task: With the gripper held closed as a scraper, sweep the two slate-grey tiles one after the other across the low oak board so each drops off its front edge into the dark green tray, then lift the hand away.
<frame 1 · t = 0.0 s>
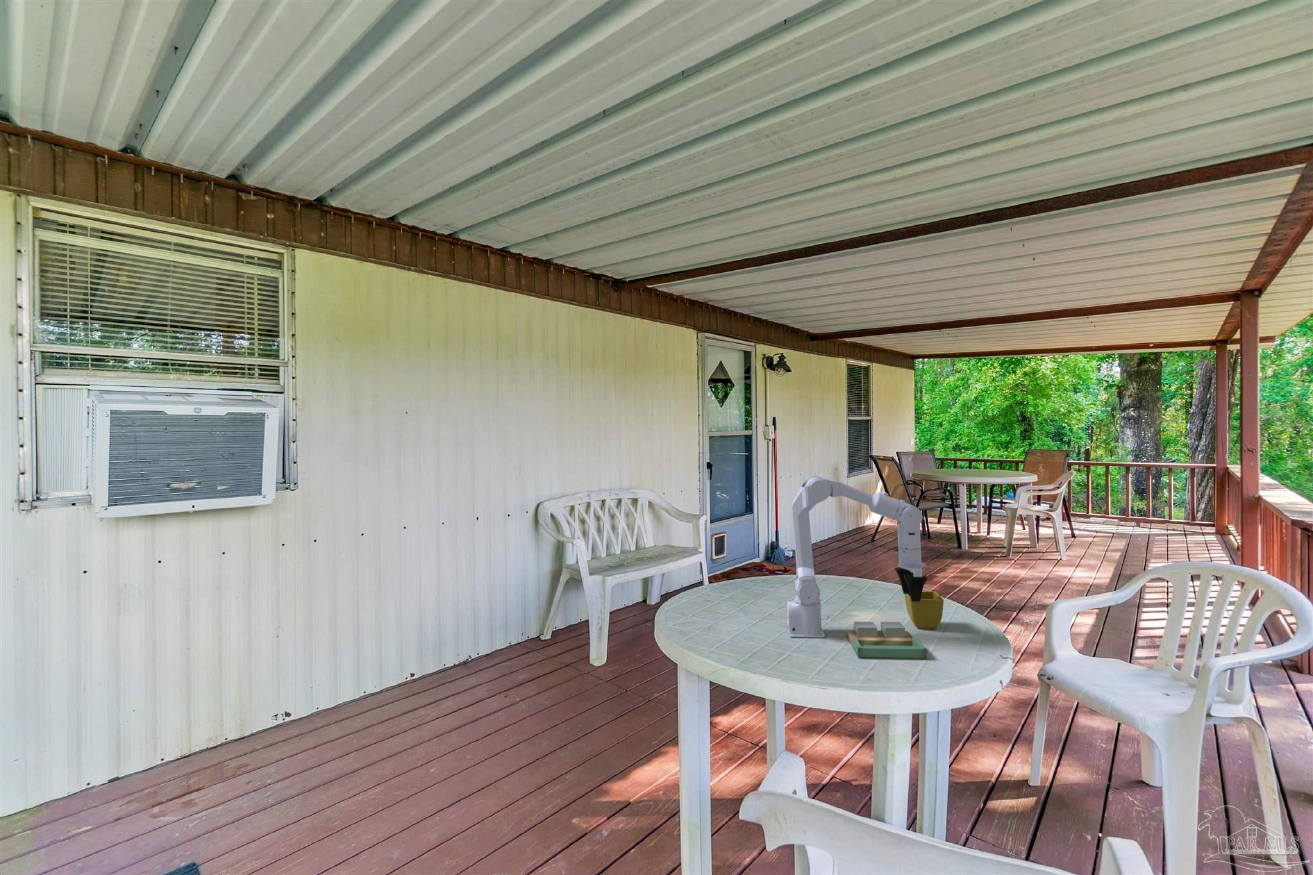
hand: (911, 597, 158), 10 cm above the table, tool pointing down, fingers open, 7 cm apart
board: (880, 641, 153), on the table
tray: (888, 652, 145), on the table
flower pot: (924, 627, 164), on the table
tile right: (892, 634, 154), point 2 cm above the table, touching board
tile left: (865, 633, 155), point 2 cm above the table, touching board
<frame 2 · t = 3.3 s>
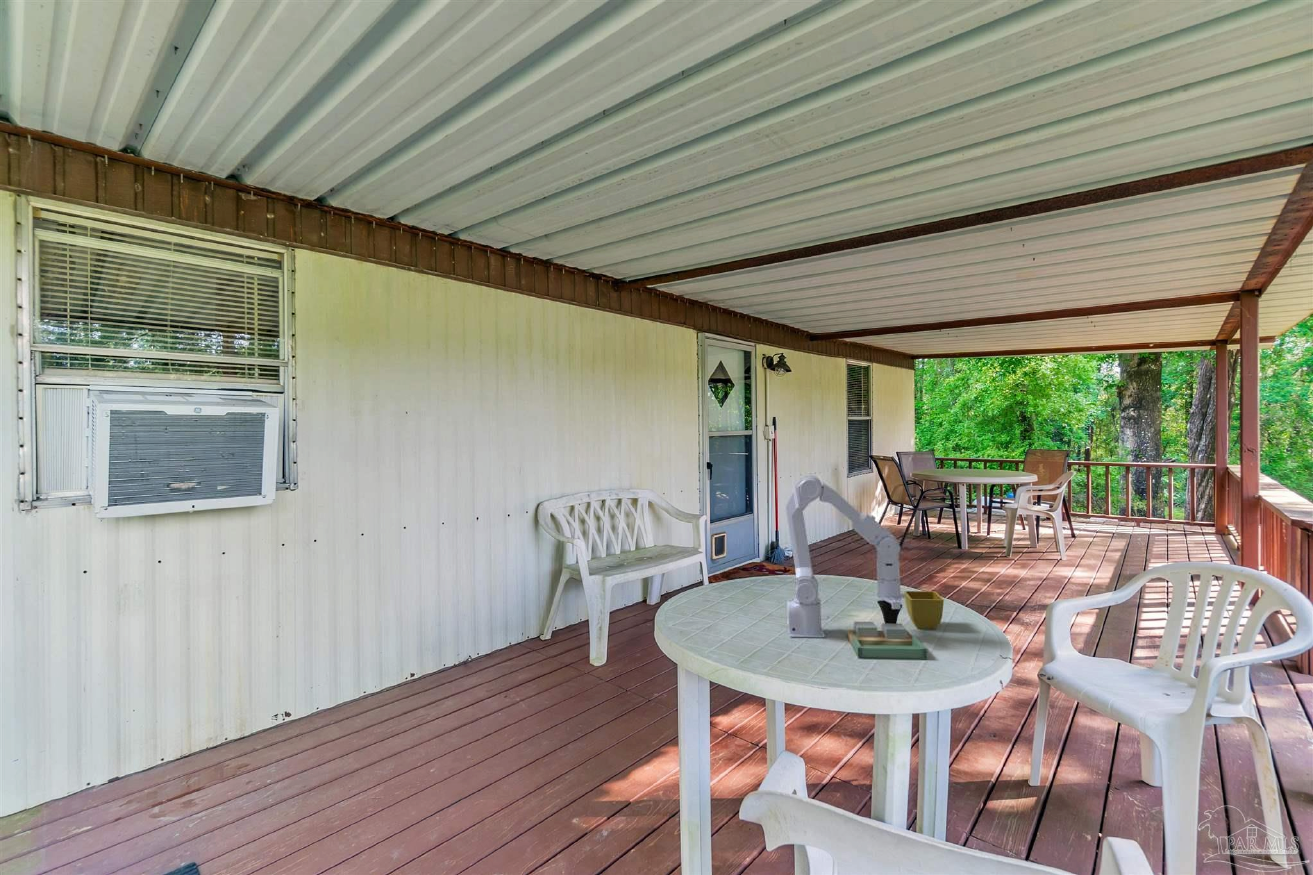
hand: (890, 628, 156), 2 cm above the table, tool pointing down, fingers closed
tile right: (894, 635, 152), point 2 cm above the table, touching gripper
everything else where it was.
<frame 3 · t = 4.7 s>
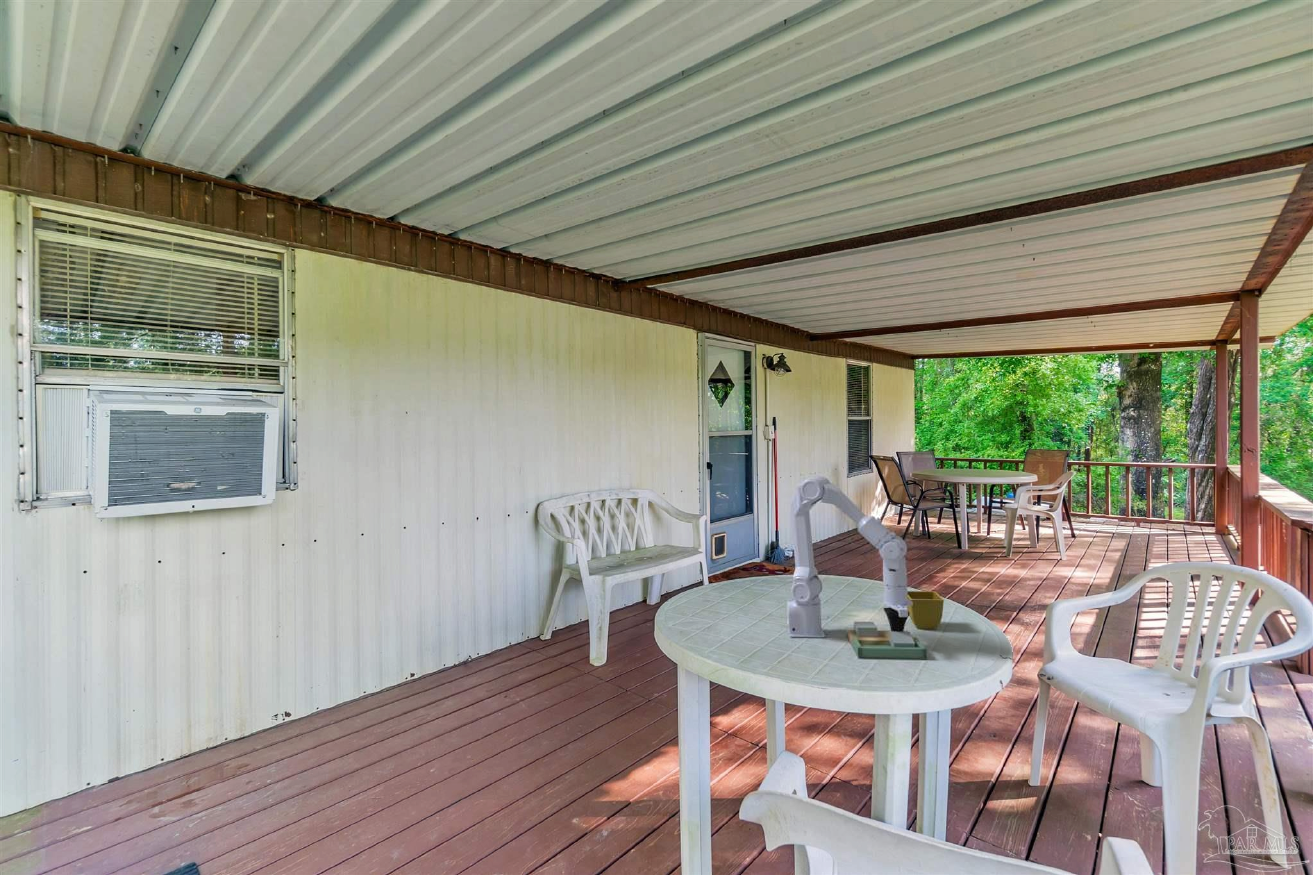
hand: (897, 636, 149), 2 cm above the table, tool pointing down, fingers closed
tile right: (901, 645, 146), point 1 cm above the table, tilted 16°, touching gripper, tray
everything else where it was.
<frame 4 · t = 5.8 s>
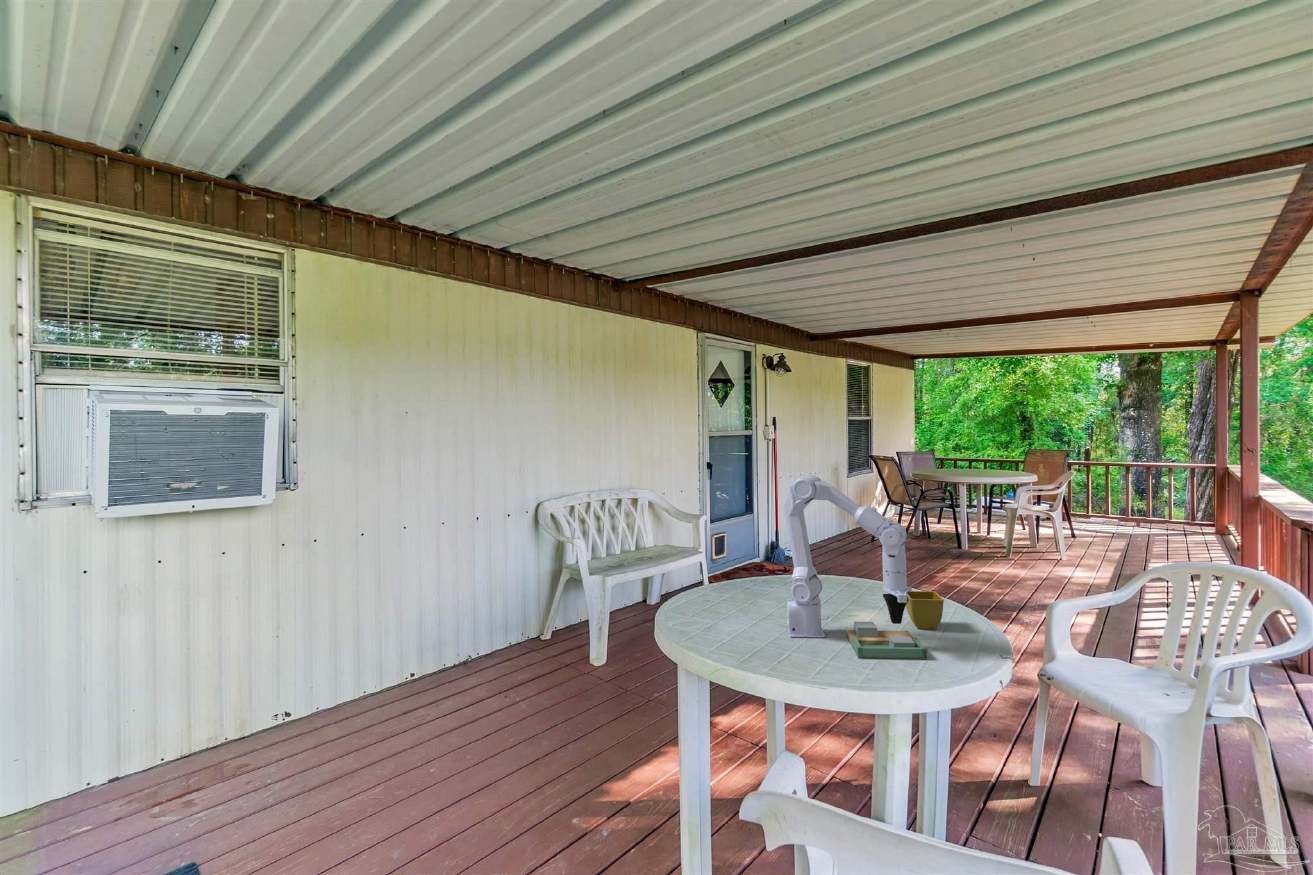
hand: (896, 622, 149), 6 cm above the table, tool pointing down, fingers closed
tile right: (901, 649, 146), resting on tray
everything else where it was.
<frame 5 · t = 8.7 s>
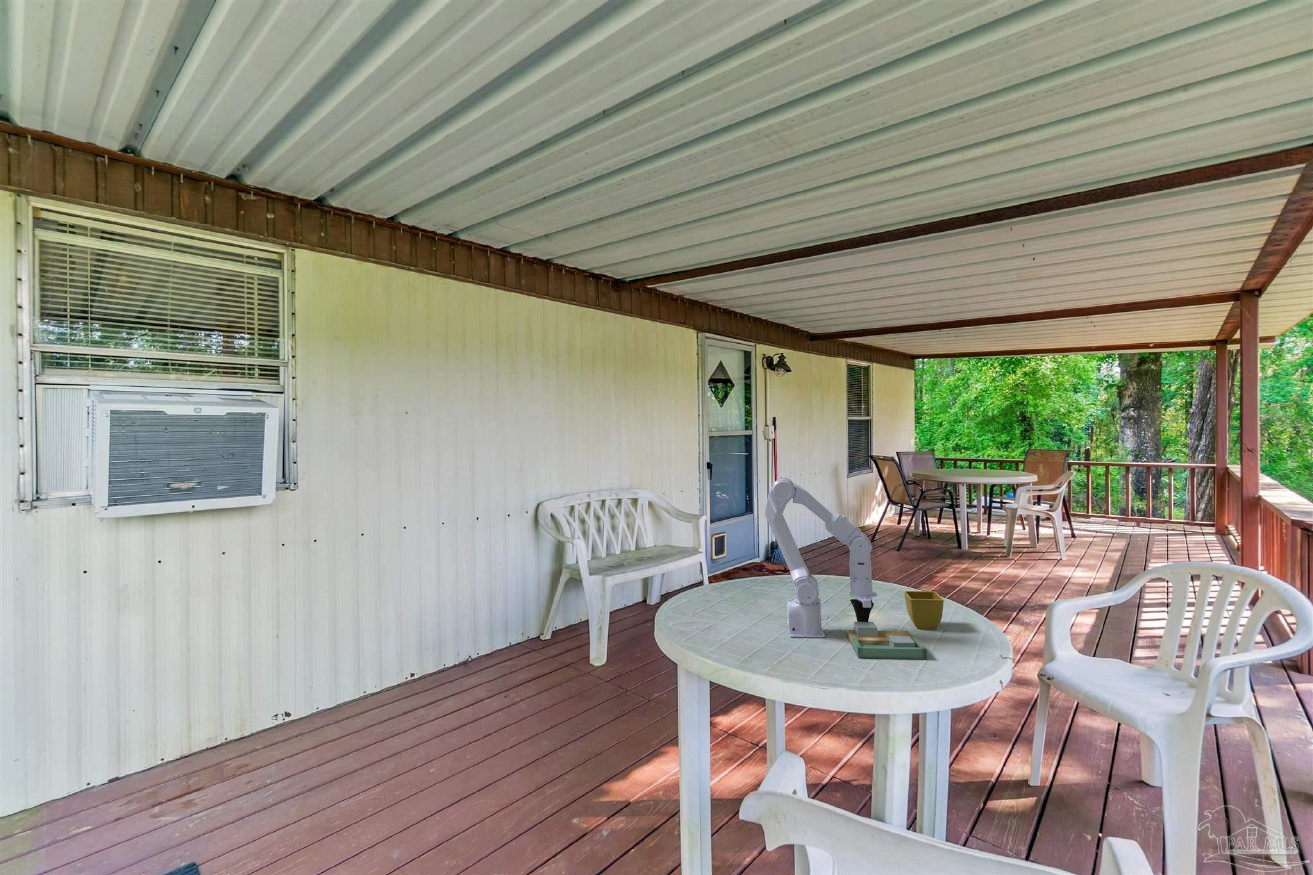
hand: (862, 626, 158), 2 cm above the table, tool pointing down, fingers closed
tile left: (865, 633, 155), point 2 cm above the table, touching board, gripper
everything else where it was.
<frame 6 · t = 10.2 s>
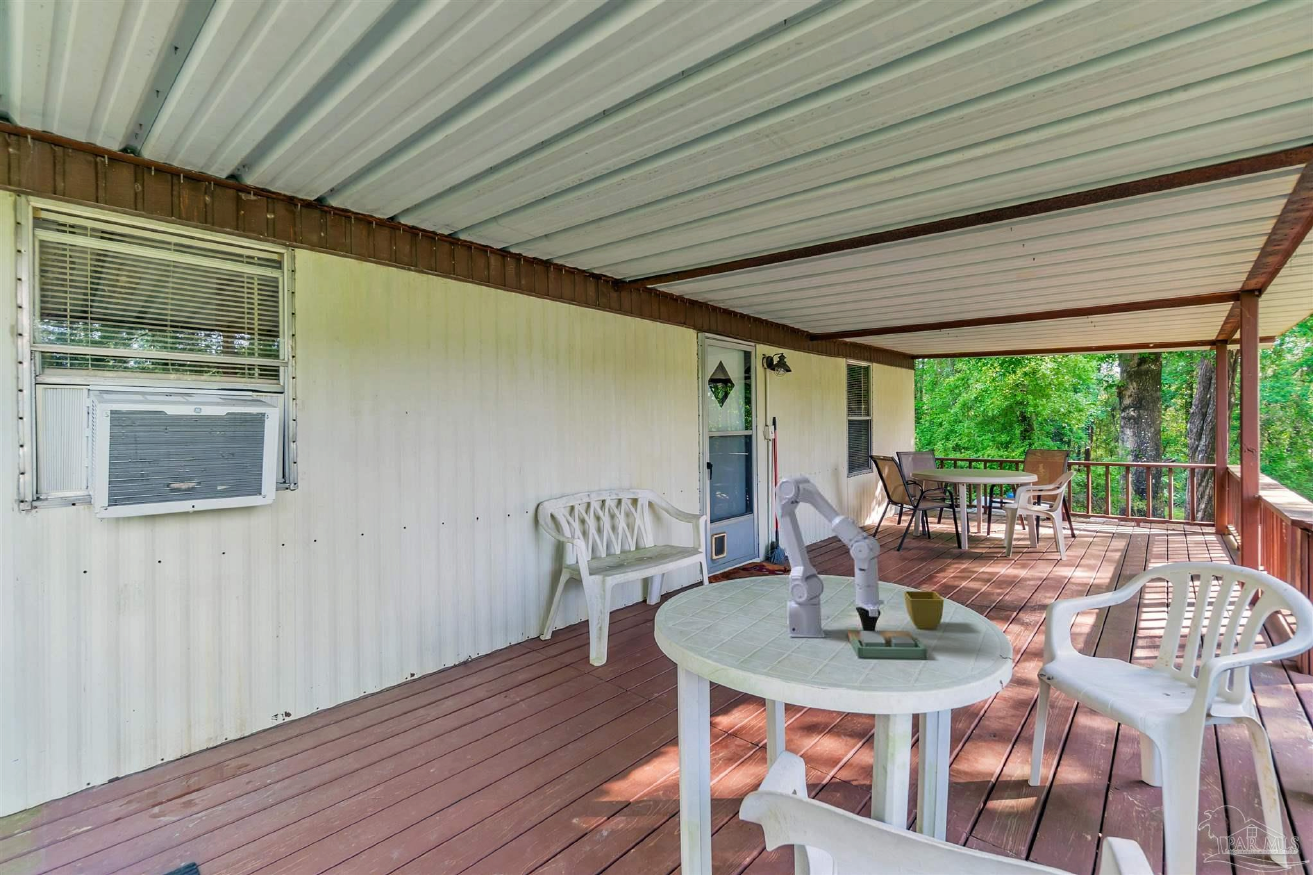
hand: (869, 636, 151), 2 cm above the table, tool pointing down, fingers closed
tile left: (872, 645, 148), point 1 cm above the table, tilted 16°, touching gripper
everything else where it was.
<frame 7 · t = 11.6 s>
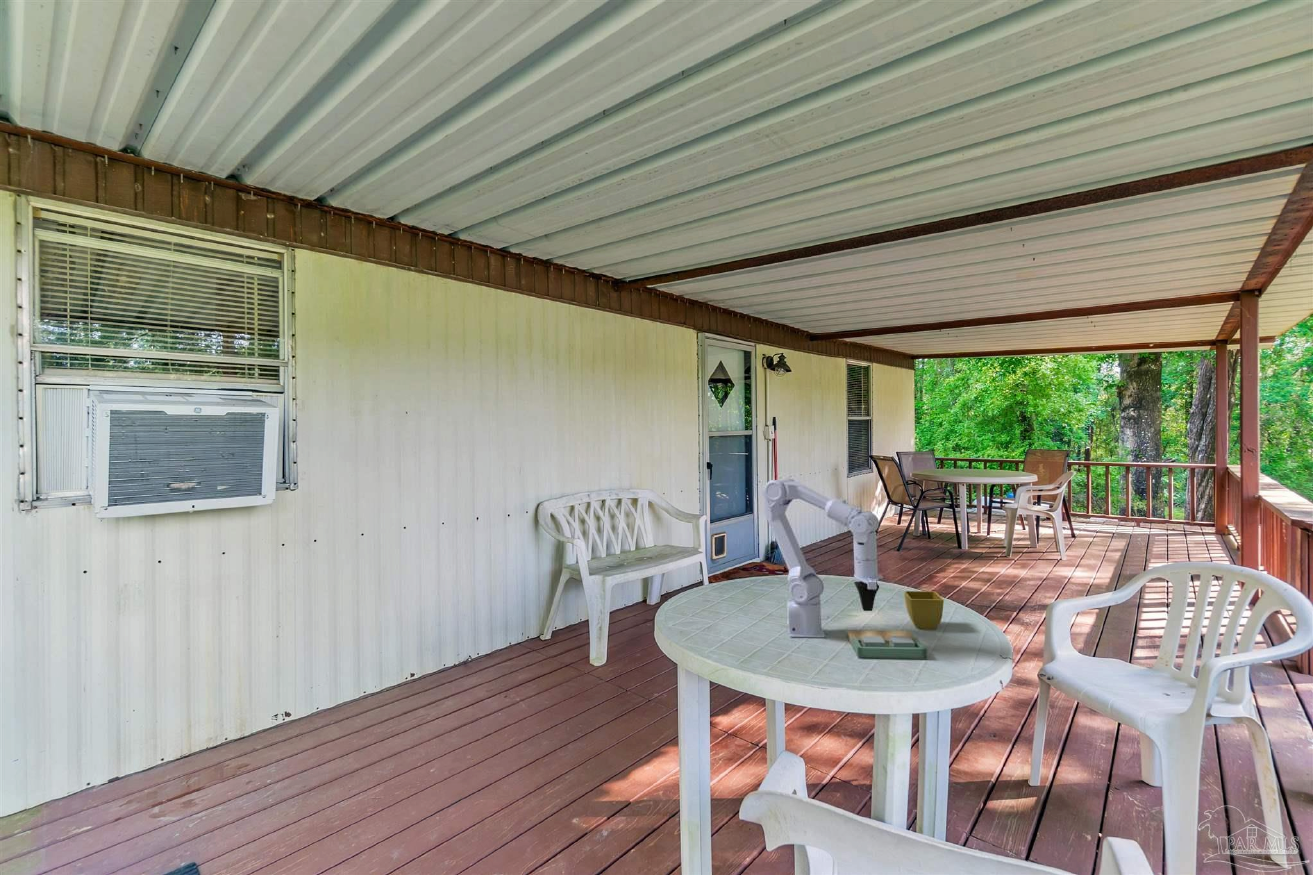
hand: (867, 610, 151), 9 cm above the table, tool pointing down, fingers closed
tile left: (873, 648, 147), resting on tray
everything else where it was.
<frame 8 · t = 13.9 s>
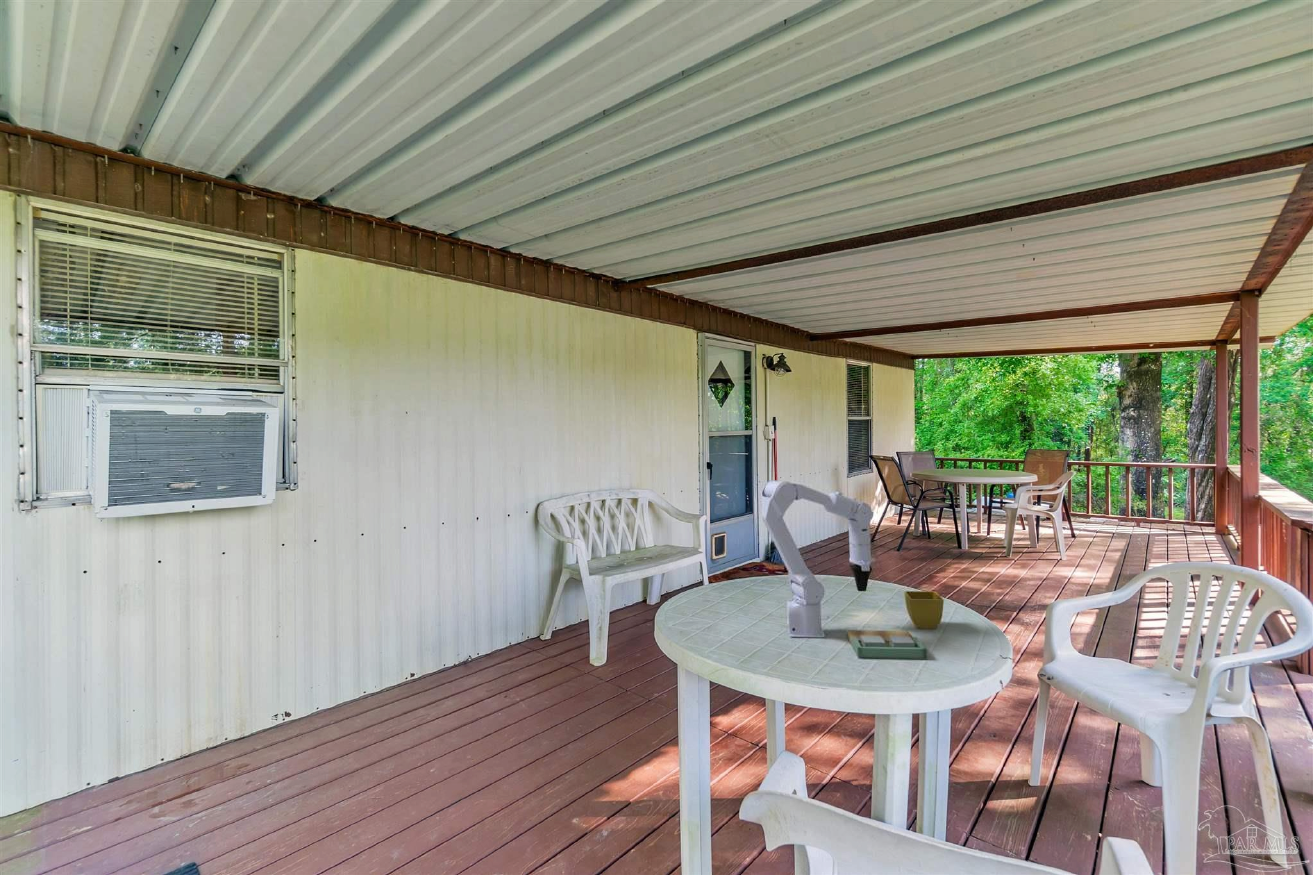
hand: (861, 590, 165), 10 cm above the table, tool pointing down, fingers closed
nothing on the table moved.
at the end: tile right inside the target area on the tray (3.9 cm from its centre), point 0.4 cm above the tray's base; tile left inside the target area on the tray (3.5 cm from its centre), point 0.4 cm above the tray's base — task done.
